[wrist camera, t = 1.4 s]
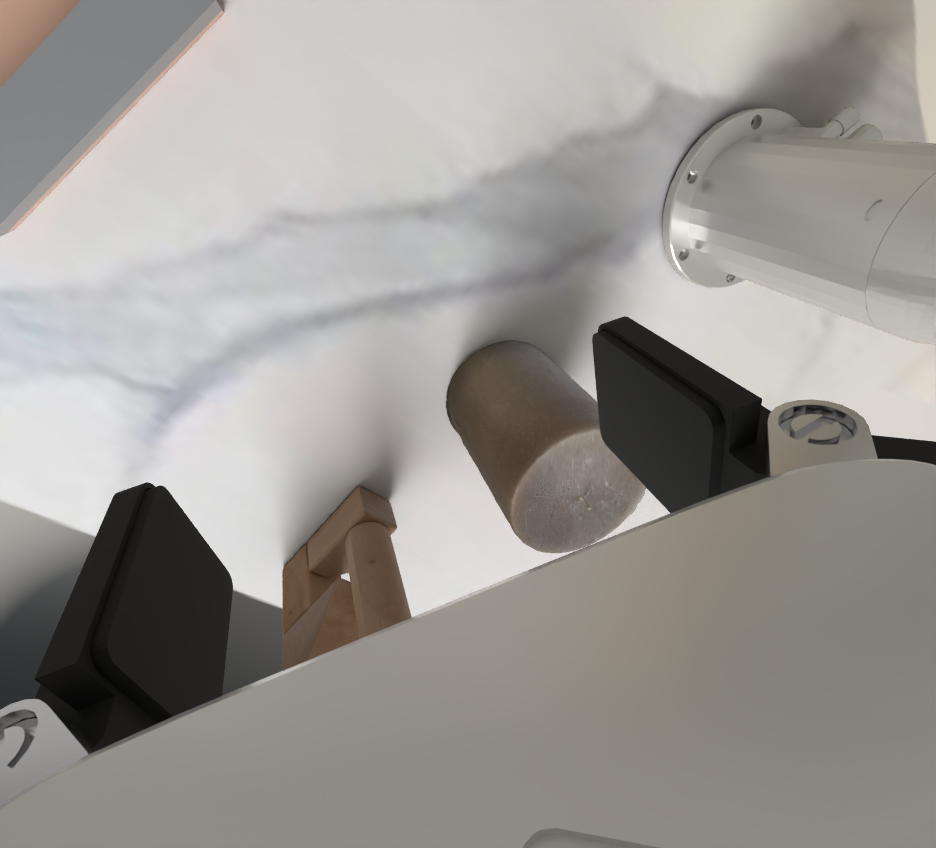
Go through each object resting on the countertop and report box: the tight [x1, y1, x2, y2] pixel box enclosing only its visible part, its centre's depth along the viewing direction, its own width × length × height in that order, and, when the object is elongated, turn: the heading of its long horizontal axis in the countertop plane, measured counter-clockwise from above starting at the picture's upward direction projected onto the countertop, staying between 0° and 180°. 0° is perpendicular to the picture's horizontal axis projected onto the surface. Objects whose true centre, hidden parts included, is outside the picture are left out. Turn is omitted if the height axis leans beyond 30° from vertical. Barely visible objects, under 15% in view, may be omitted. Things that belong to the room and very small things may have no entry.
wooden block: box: [282, 486, 411, 671], centre depth 38 cm, size 4×11×18 cm, turn 135°
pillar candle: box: [446, 341, 646, 553], centre depth 37 cm, size 10×10×15 cm
